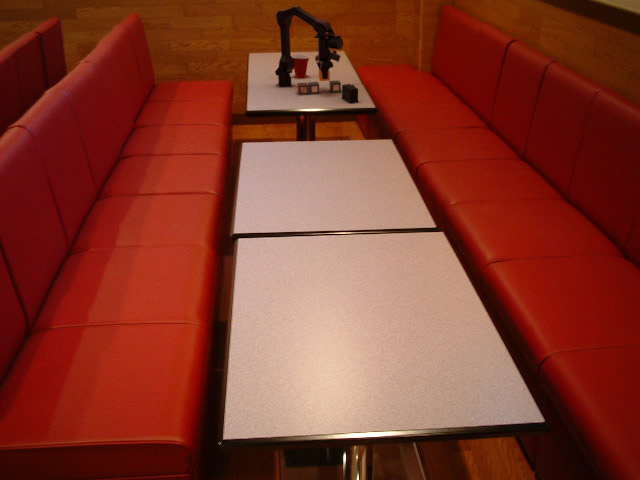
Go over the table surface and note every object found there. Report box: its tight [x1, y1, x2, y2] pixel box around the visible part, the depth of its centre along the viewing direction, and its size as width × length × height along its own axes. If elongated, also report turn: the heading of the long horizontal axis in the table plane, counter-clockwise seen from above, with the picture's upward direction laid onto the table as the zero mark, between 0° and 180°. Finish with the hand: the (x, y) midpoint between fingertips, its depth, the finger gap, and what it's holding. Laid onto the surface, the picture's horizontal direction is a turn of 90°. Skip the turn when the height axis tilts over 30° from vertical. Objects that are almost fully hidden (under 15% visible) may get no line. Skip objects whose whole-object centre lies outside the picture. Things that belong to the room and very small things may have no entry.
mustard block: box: [318, 68, 331, 82], centre depth 334 cm, size 5×5×5 cm
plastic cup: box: [291, 54, 310, 79], centre depth 365 cm, size 11×11×12 cm
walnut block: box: [296, 82, 309, 96], centre depth 335 cm, size 5×5×5 cm
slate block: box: [307, 81, 320, 95], centre depth 336 cm, size 5×5×5 cm
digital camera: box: [341, 83, 359, 104], centre depth 321 cm, size 10×5×7 cm, turn 23°
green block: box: [329, 79, 342, 94], centre depth 338 cm, size 5×5×5 cm
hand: (324, 77), depth 335 cm, fingers closed on mustard block, 5 cm apart
